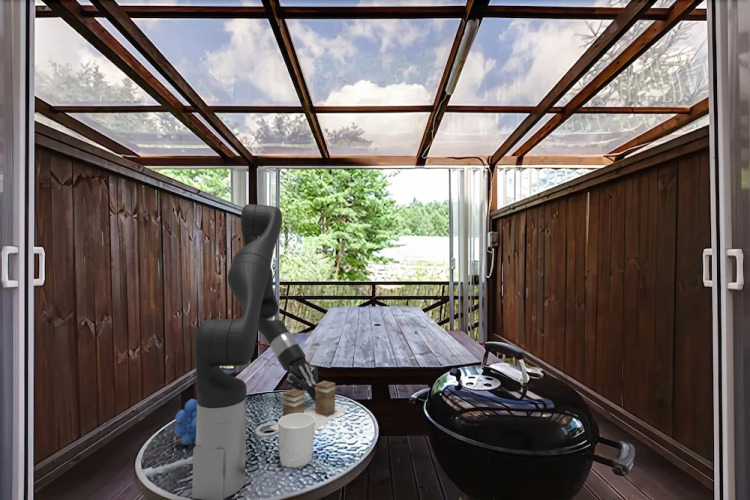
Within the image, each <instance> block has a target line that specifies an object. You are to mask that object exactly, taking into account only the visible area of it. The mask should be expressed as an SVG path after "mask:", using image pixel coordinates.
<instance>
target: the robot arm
mask: <svg viewBox="0 0 750 500" xmlns="http://www.w3.org/2000/svg"><path fill="white" fill-rule="evenodd" d="M282 224H283V213H282V211H281V209H280V208H279V207H277V206H275V205H266V204H254V203H252V204H251V203H250V204H249V203H248V204H245V205H244V206H243V208H242V211H241V215H240V227H241V228H240V230H241V235H242V240H243V246H242V248H241V249H240V250H238V251H237V252H236V254H235V255H234V257H233V259H232V262H231V264H230V268H229V270H228V273H227V283H228V285H229V288H230V290H231V292H232V294H233V296H234V297H235V299H236V300H237V302H238V303H239V304H238V305H239V307H240V310H241V311H242V312H241V316H240V318H237V319H235V318H233V319H225V318H224V319H220V318H219V319H217V318H216V319H206V320H204V321H202V322H201V323H200V325H199V326H198V328H197V330H196V334H195V342H194V356H195V357H194V359H195V361H194V363H195V392H196V400H197V425H196V445H195V446H194V448H193V451H192V489H191V490H192V491H191V493H192V494H191V495H192V496H191V498H192V499H196V500H197V499H198V500H225V499H226V498H229V497H231V496H233V495H235V494H237V493H238V492H239V491H240V490H241V489H242V488H243V487H244V485H245V482H246V438H247V437H246V432H247V430H246V429H247V392H248V391H247V389H248V388H247V384H246V383H245V381H243V380H242V379H241V378H238V377H235V376H232V375H230V374H228V373H226V372H225V371H224V370H223V369H222V368H221V367H241V366H245V365H247V364H248V363H250V362H251V359H252V357H253V355H254V352H255V346H256V341H257V335H258V331H259V332H260V333H261V335H263V336H264V338H265V339H266V341H267V343H268V345H269V346H270V348H271V350H272V352H273V354H274V356H275V358H276V359H277V360H278V363H279V364H280V366H281V367H282V369H283V370H284V371H286V372H287V378H286V379H285V383H286V384H287V385H289V386H291V387H293V388H294V389H296V390H301V391H304V392H307V393H308V395H309V398H310V399H311V400H312V401H313V402H315V399H316V390H315V387H316V384H318V383H319V370H318V366H317V365H314V366H312V365H310V363H309V361H307V360H306V354H305V351H303V349H302V347H301V346H300V344H299V343H298V342H297V340H296V338H295V337H294V336H293V334H292V333H291V332H290V331H289V329H288V327H287V326H286V325H285V323H284V322H283V321H282V320H281V319H272V320H271V318H274V317H276V315H277V314H278V312H279V304H278V302H277V299H276V296H275V292H274V286H273V285H274V284H273V282H274V281H273V280H274V279H273V278H274V277H273V276H274V275H273V269H272V266H271V265H272V260H273V255H274V251H275V248H276V244H277V241H278V239H279V236H280V234H281V229H282ZM256 237H257V238H256ZM269 319H270V320H269Z"/></svg>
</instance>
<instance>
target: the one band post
mask: <svg viewBox="0 0 750 500" xmlns="http://www.w3.org/2000/svg"><path fill="white" fill-rule="evenodd" d="M336 388H337V387H336V382H333V381H327V380H322V381H321V382H317V383H316V387H315V390H316V399H315V401H314V402H315V403H314V404H315V413H319V414H322V415H326V416H327V415H328V414H330V413H332V412H333V411H335V406H336Z"/></svg>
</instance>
